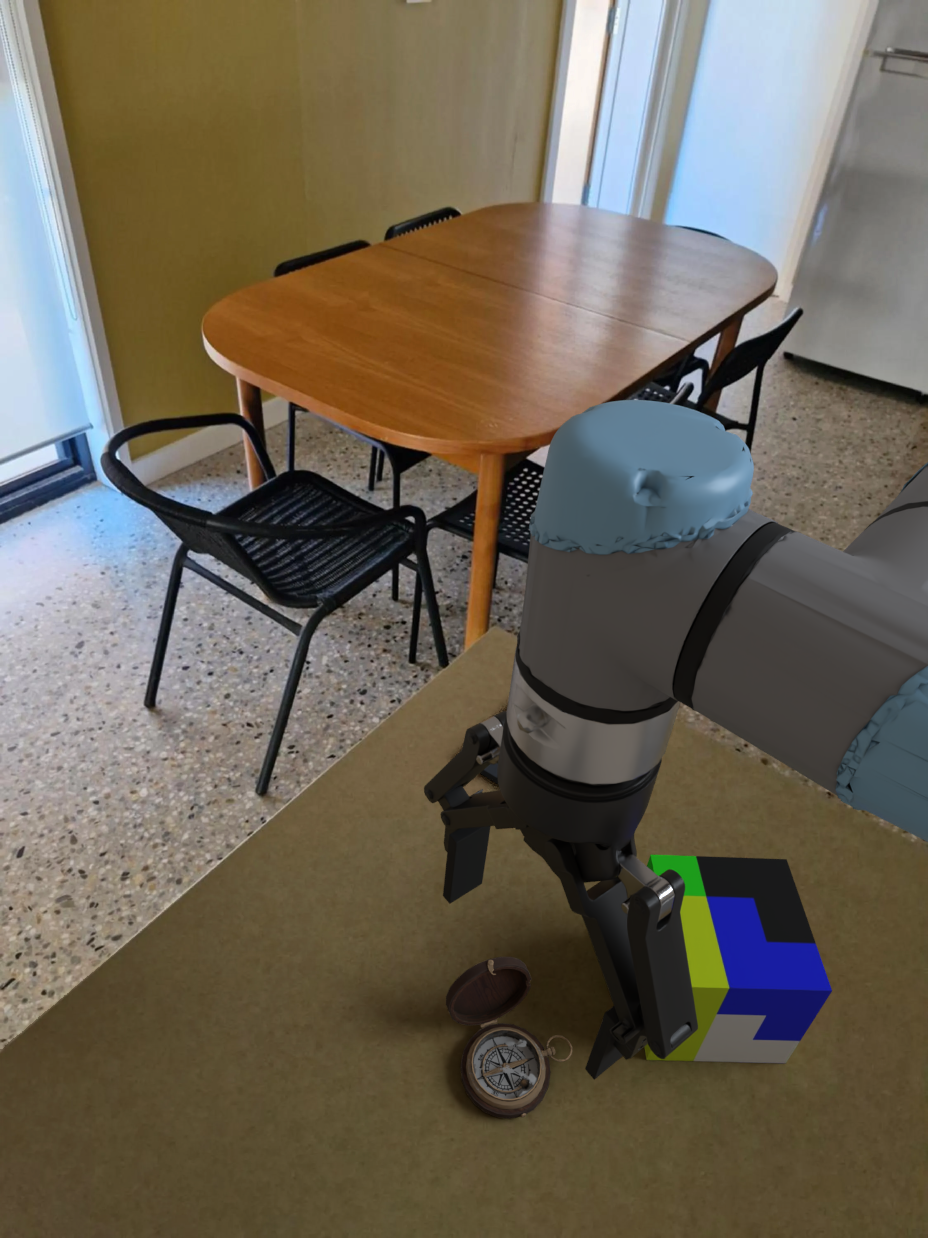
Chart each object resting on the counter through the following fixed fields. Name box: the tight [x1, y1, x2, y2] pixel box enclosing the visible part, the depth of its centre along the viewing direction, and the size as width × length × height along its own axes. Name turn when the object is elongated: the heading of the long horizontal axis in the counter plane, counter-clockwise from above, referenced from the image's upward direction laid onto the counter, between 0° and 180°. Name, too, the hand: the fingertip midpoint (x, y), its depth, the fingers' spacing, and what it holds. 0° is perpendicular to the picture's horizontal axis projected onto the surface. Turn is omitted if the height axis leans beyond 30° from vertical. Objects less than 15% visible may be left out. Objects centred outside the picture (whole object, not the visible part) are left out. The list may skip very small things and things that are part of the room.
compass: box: [445, 956, 573, 1119], centre depth 60 cm, size 8×8×7 cm
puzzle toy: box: [643, 854, 833, 1064], centre depth 63 cm, size 10×10×10 cm
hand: (529, 969), depth 55 cm, fingers open, 13 cm apart
